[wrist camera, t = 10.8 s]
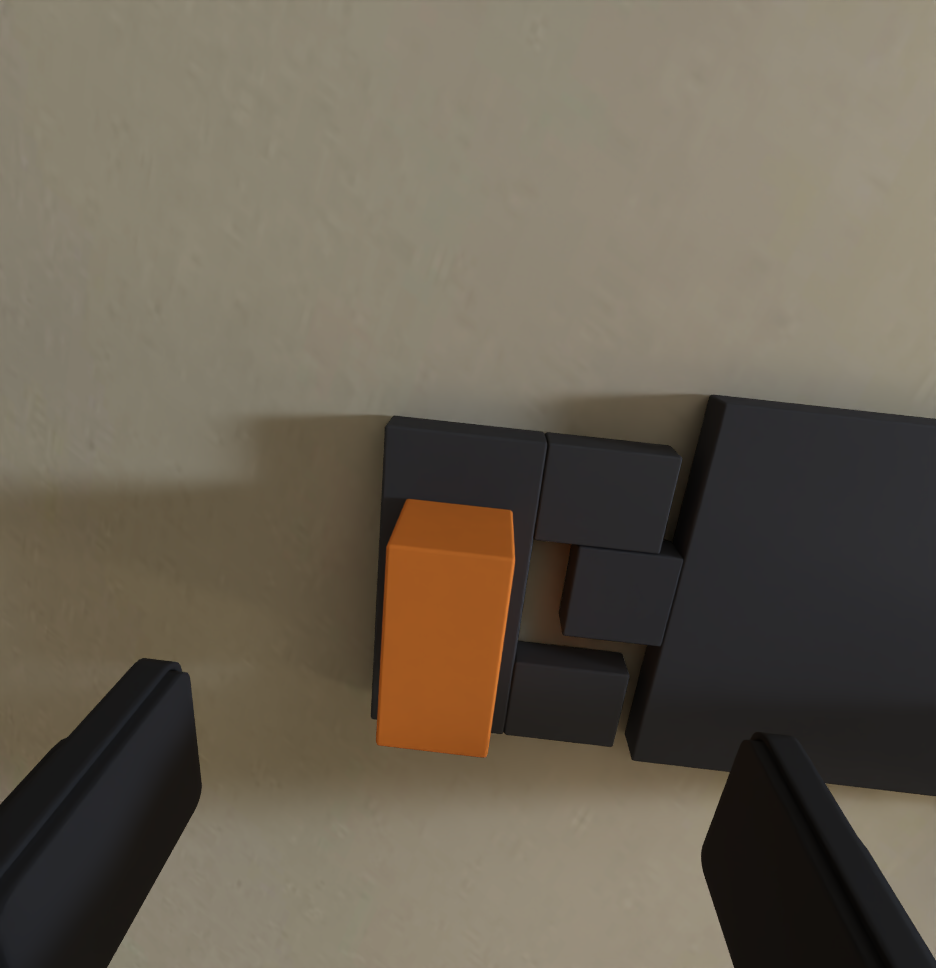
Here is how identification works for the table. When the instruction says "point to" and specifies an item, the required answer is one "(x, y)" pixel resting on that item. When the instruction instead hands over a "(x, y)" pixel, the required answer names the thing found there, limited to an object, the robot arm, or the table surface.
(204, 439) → the table surface
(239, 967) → the table surface
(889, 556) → the charcoal pad
